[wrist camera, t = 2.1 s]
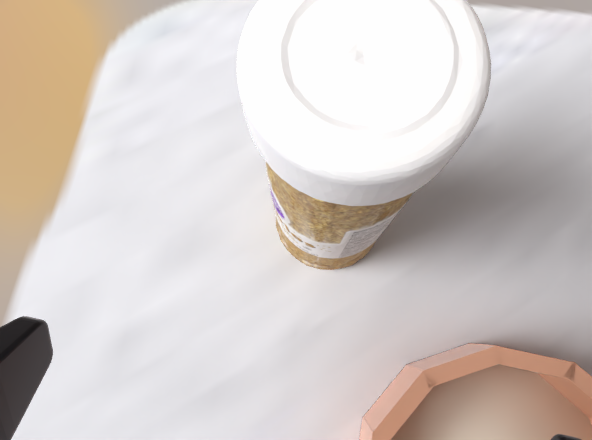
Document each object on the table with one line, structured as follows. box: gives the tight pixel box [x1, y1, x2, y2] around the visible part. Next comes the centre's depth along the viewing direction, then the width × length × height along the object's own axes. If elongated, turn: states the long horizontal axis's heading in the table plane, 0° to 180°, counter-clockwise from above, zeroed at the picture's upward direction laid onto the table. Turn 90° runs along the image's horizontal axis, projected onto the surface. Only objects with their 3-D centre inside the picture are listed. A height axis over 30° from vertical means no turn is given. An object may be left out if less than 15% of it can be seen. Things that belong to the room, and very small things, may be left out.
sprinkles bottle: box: [237, 0, 491, 270], centre depth 15 cm, size 5×5×14 cm
